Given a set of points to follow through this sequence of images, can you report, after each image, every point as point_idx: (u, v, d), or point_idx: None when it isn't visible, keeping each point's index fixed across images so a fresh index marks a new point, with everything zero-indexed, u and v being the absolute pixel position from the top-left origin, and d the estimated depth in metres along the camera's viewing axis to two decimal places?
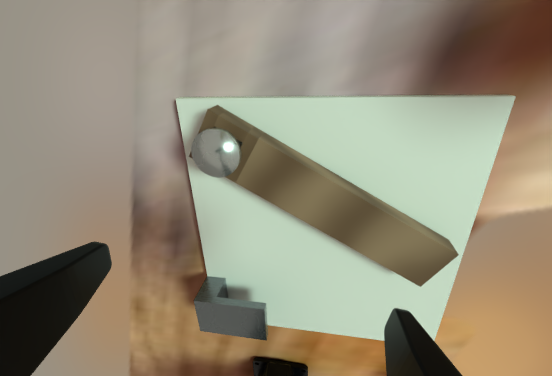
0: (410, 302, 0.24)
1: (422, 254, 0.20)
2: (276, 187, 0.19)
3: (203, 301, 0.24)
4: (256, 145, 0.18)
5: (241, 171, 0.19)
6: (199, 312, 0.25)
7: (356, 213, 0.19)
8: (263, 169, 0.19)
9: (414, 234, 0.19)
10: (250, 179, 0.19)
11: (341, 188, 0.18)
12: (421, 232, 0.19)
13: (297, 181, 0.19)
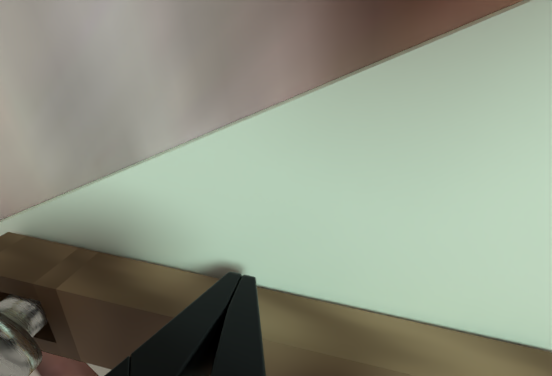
0: None
1: None
2: None
3: None
4: (62, 300, 0.09)
5: (77, 342, 0.10)
6: None
7: None
8: (103, 334, 0.09)
9: None
10: (97, 353, 0.10)
11: None
12: None
13: None
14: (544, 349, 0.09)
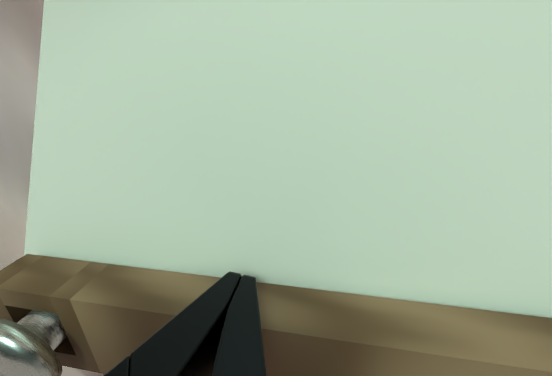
0: None
1: None
2: None
3: None
4: (76, 310, 0.09)
5: (94, 353, 0.10)
6: None
7: (327, 365, 0.08)
8: (117, 342, 0.09)
9: (494, 373, 0.07)
10: (114, 362, 0.10)
11: (262, 330, 0.08)
12: (511, 361, 0.07)
13: None
14: None
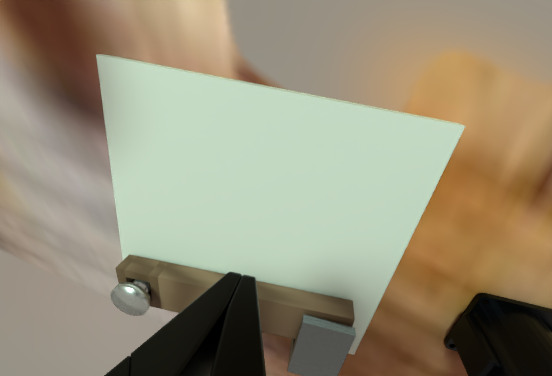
0: (355, 153, 0.17)
1: None
2: (189, 304, 0.23)
3: (289, 364, 0.23)
4: (159, 281, 0.23)
5: (161, 300, 0.24)
6: (304, 374, 0.23)
7: None
8: (173, 295, 0.23)
9: (309, 313, 0.21)
10: (169, 304, 0.24)
11: None
12: (314, 309, 0.21)
13: None
14: (247, 117, 0.18)
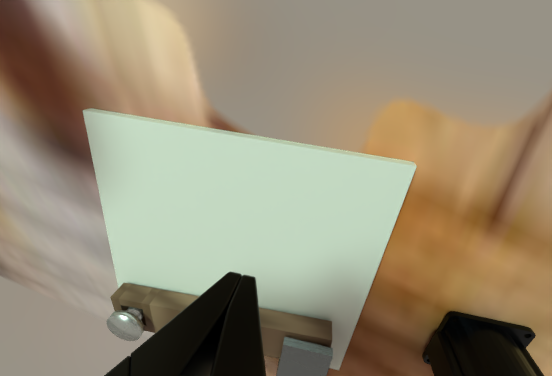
0: (320, 190, 0.19)
1: None
2: None
3: None
4: (151, 308, 0.24)
5: (154, 324, 0.26)
6: None
7: None
8: (165, 320, 0.25)
9: (290, 335, 0.23)
10: None
11: None
12: (294, 331, 0.23)
13: None
14: (221, 161, 0.19)
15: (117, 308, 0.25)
